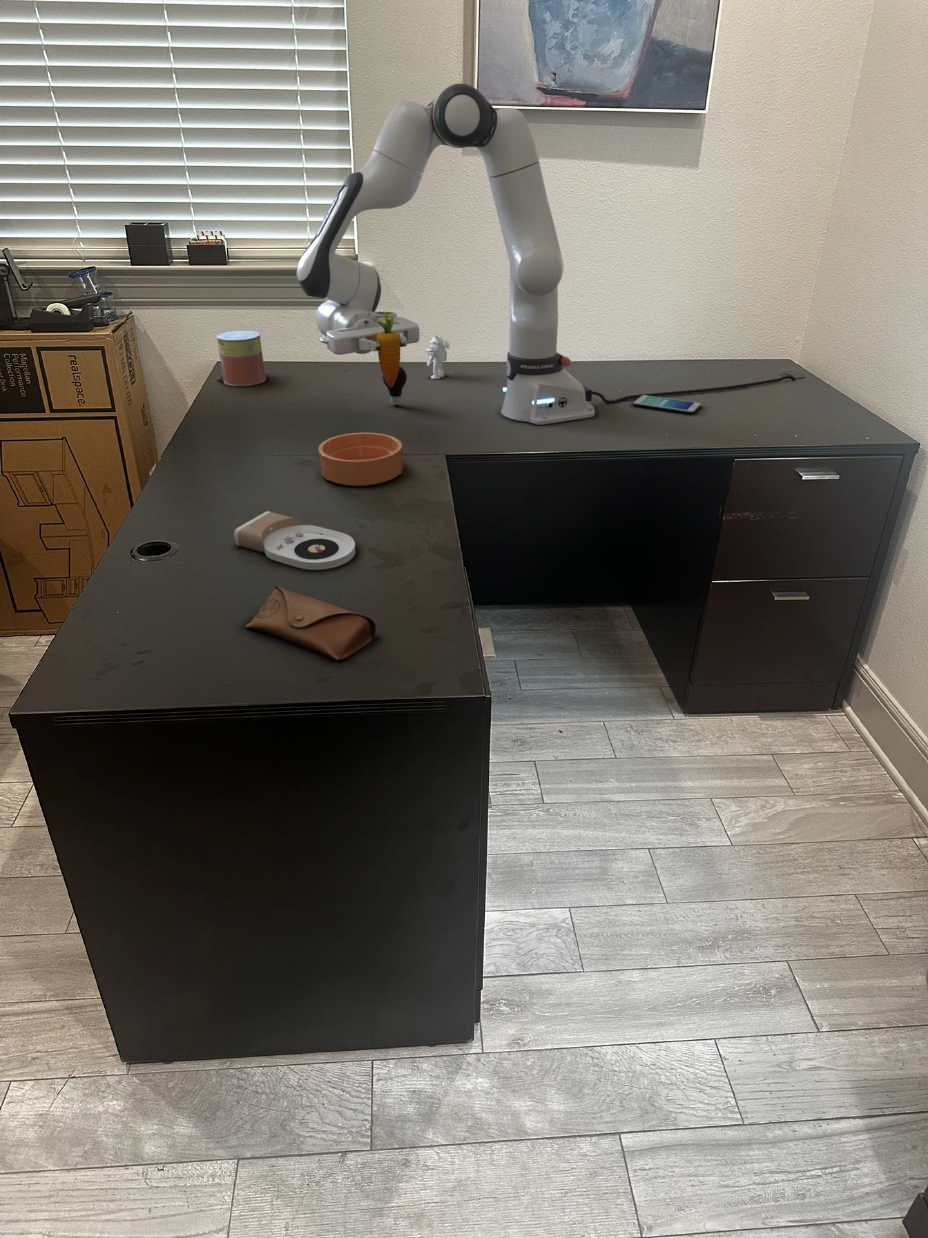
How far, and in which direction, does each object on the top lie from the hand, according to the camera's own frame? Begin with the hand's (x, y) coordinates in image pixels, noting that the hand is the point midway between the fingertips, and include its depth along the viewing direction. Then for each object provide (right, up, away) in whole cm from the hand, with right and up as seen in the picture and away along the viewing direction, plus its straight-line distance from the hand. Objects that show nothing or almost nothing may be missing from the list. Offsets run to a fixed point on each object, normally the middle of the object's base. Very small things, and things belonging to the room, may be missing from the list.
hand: (390, 344), depth 171 cm
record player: (-13, -45, -30) cm, 55 cm away
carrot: (0, -7, +6) cm, 9 cm away
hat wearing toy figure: (+8, +10, +58) cm, 60 cm away
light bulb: (-2, -3, +37) cm, 37 cm away
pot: (-6, -26, -1) cm, 27 cm away
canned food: (-45, +9, +57) cm, 73 cm away
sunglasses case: (-7, -58, -52) cm, 79 cm away
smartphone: (+65, -4, +35) cm, 74 cm away
